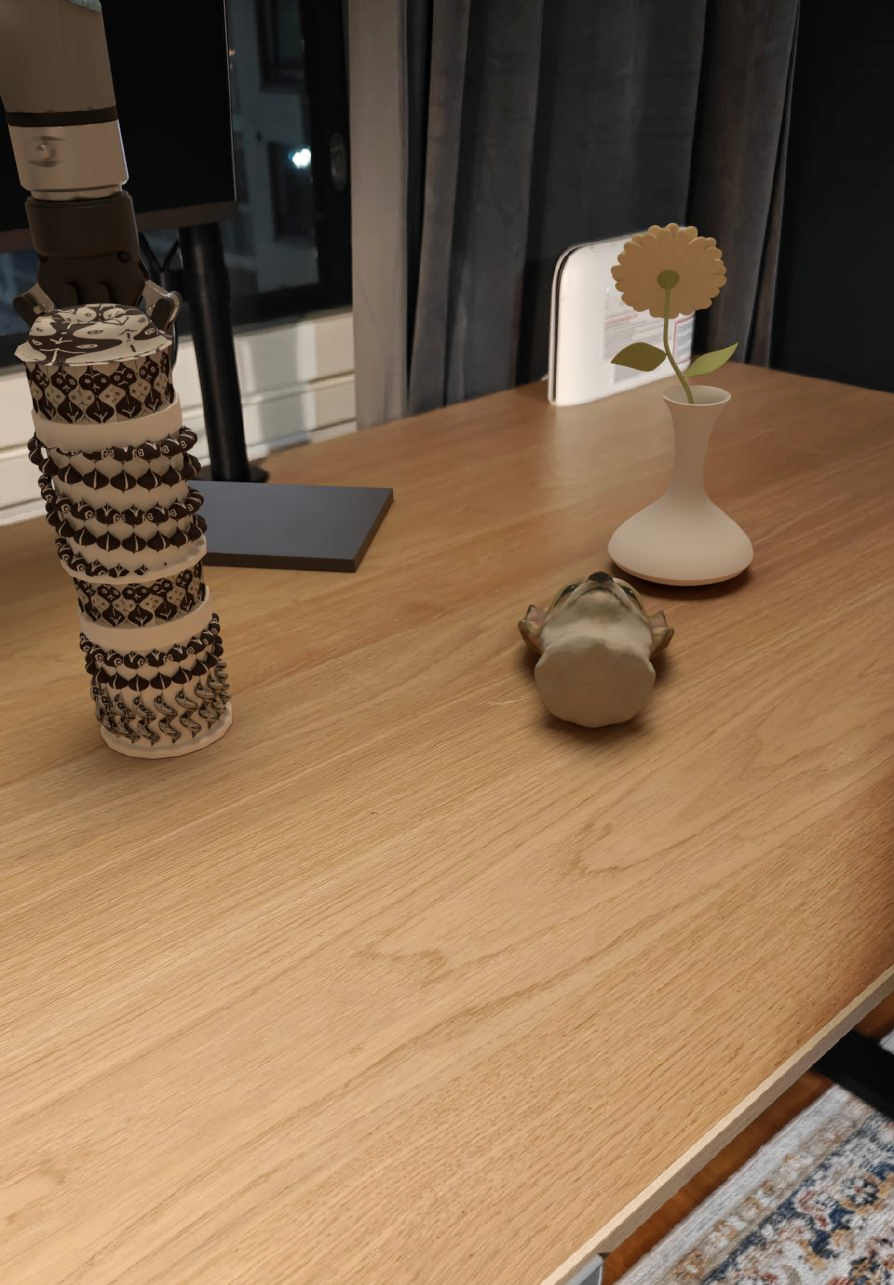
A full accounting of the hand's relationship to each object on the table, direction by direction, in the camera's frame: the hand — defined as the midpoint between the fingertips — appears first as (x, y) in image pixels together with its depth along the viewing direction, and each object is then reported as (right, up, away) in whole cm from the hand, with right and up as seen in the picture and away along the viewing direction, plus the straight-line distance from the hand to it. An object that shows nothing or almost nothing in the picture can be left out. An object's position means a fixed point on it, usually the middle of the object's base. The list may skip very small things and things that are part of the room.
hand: (136, 505), depth 95 cm
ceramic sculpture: (+36, -17, -19) cm, 44 cm away
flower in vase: (+44, -6, -4) cm, 45 cm away
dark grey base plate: (+9, -1, +4) cm, 10 cm away
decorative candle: (+8, -20, -22) cm, 30 cm away
